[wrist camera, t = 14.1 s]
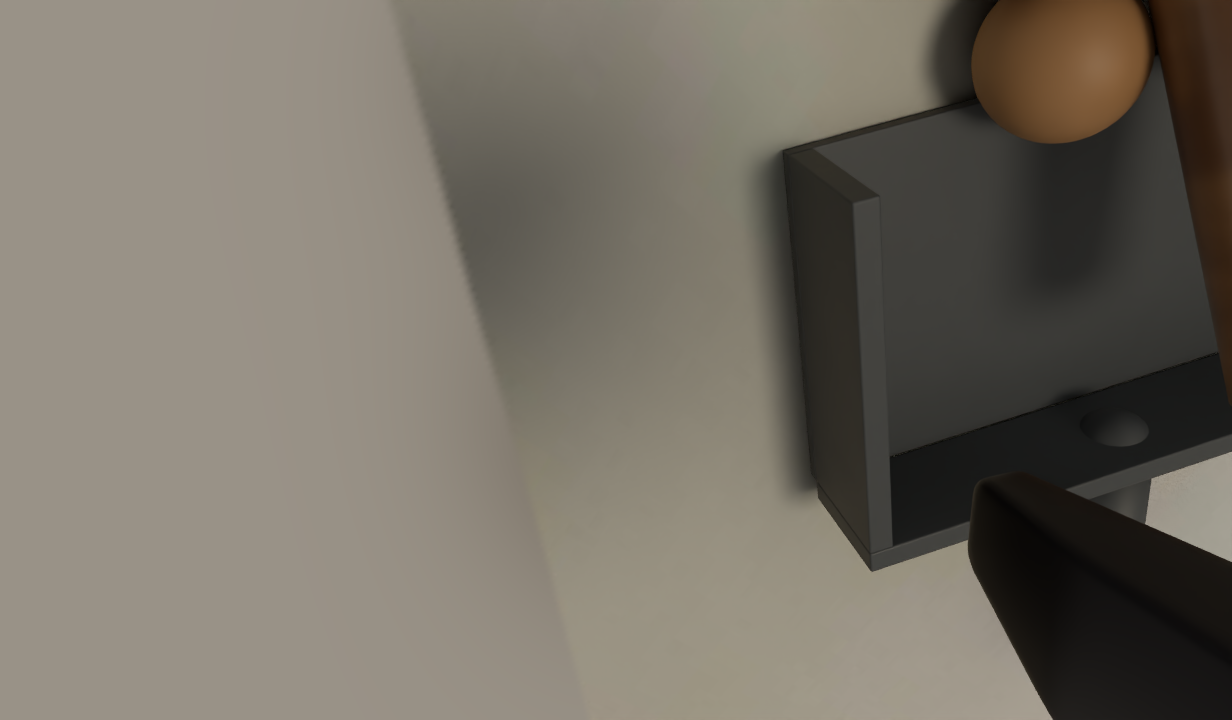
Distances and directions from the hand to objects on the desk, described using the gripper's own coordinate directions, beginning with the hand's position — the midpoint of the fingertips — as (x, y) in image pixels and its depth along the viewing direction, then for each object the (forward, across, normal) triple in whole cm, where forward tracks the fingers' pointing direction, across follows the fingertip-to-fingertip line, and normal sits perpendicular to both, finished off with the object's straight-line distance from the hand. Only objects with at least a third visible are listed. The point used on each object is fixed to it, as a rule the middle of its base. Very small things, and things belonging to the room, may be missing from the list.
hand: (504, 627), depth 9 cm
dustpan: (+13, -16, +10) cm, 23 cm away
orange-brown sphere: (+12, -13, 0) cm, 17 cm away
